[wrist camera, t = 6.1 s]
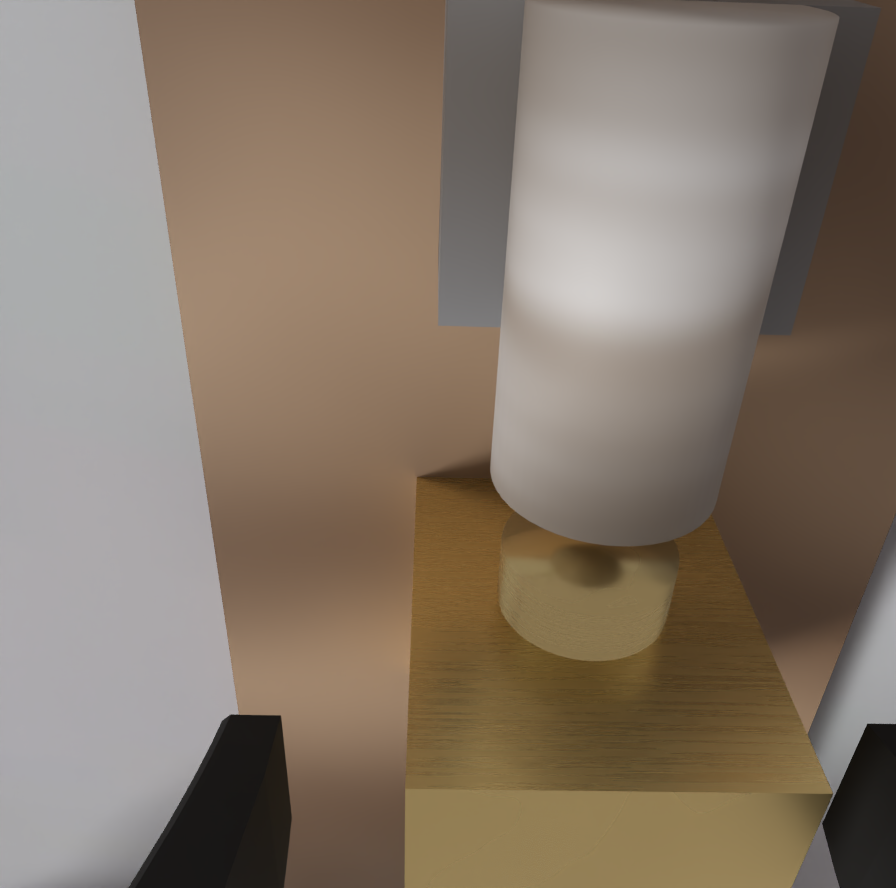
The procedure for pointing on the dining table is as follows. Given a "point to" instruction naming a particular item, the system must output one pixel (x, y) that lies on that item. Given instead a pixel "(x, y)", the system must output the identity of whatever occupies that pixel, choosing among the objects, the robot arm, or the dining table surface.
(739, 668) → the block
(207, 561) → the dining table surface
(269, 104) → the shaft stand
